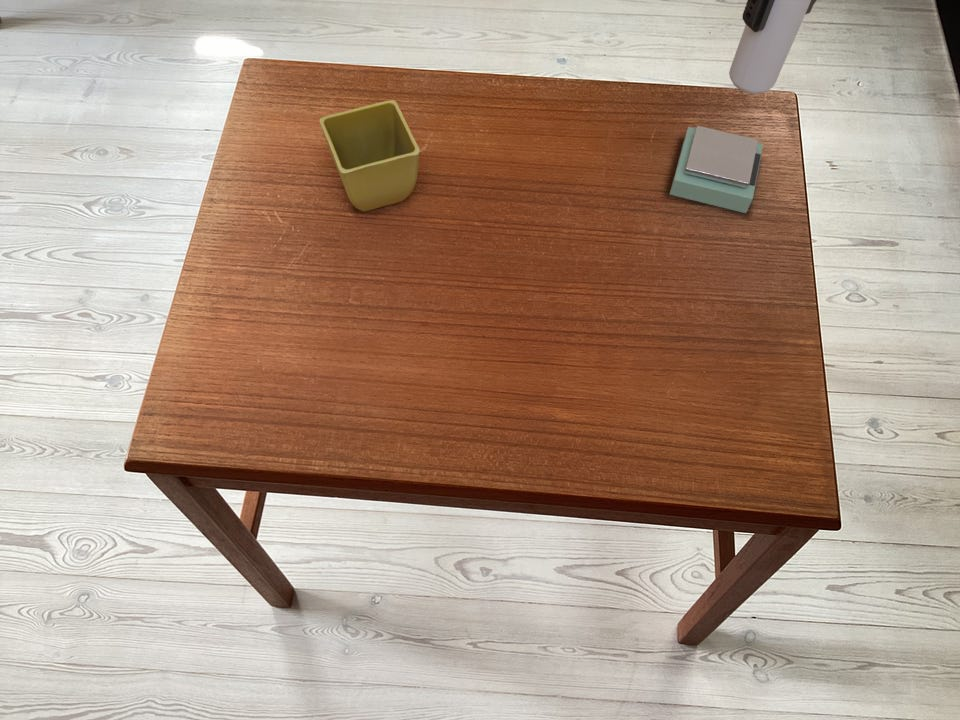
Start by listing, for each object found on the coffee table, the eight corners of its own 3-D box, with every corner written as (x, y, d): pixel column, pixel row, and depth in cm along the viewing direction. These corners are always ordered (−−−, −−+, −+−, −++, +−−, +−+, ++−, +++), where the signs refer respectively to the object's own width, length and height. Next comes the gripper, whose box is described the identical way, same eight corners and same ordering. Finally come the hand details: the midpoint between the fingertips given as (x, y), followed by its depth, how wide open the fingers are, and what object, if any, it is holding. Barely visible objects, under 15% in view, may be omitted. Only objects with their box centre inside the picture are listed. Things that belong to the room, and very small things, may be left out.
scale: (756, 159, 93) (764, 142, 91) (745, 213, 89) (753, 197, 86) (683, 141, 94) (688, 125, 92) (669, 194, 90) (674, 178, 88)
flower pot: (401, 156, 93) (395, 97, 85) (425, 208, 89) (421, 151, 81) (331, 175, 91) (317, 117, 83) (352, 229, 87) (340, 173, 79)
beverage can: (760, 60, 81) (803, -50, 70) (783, 91, 78) (831, -18, 68) (719, 70, 80) (756, -40, 69) (741, 101, 78) (783, -8, 67)
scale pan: (756, 144, 90) (758, 139, 90) (747, 188, 87) (749, 183, 86) (695, 130, 91) (697, 125, 91) (684, 173, 88) (685, 168, 87)
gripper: (810, -134, 55) (738, 65, 69) (960, -180, 58) (861, 19, 73) (746, -183, 58) (690, 17, 73) (891, -224, 61) (810, -25, 76)
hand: (776, 17), depth 73 cm, fingers closed on beverage can, 5 cm apart
